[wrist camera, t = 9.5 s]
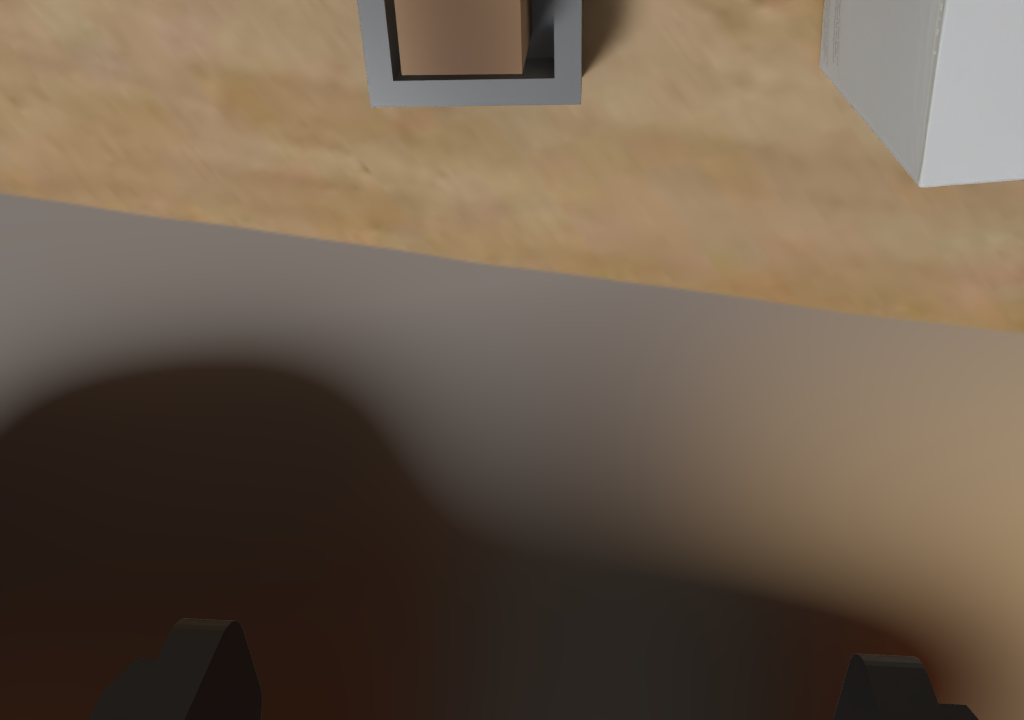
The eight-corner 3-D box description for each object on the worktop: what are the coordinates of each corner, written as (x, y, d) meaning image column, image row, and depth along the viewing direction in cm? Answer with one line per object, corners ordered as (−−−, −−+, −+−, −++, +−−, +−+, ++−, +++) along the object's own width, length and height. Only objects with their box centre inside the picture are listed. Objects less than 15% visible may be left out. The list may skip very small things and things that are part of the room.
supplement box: (814, 72, 35) (907, 194, 25) (831, -135, 31) (951, -94, 21) (1006, 56, 35) (1186, 175, 24) (1049, -159, 31) (1287, -129, 20)
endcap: (388, 81, 37) (370, 107, 34) (373, -47, 34) (353, -31, 31) (581, 77, 36) (580, 104, 33) (582, -54, 34) (581, -37, 31)
